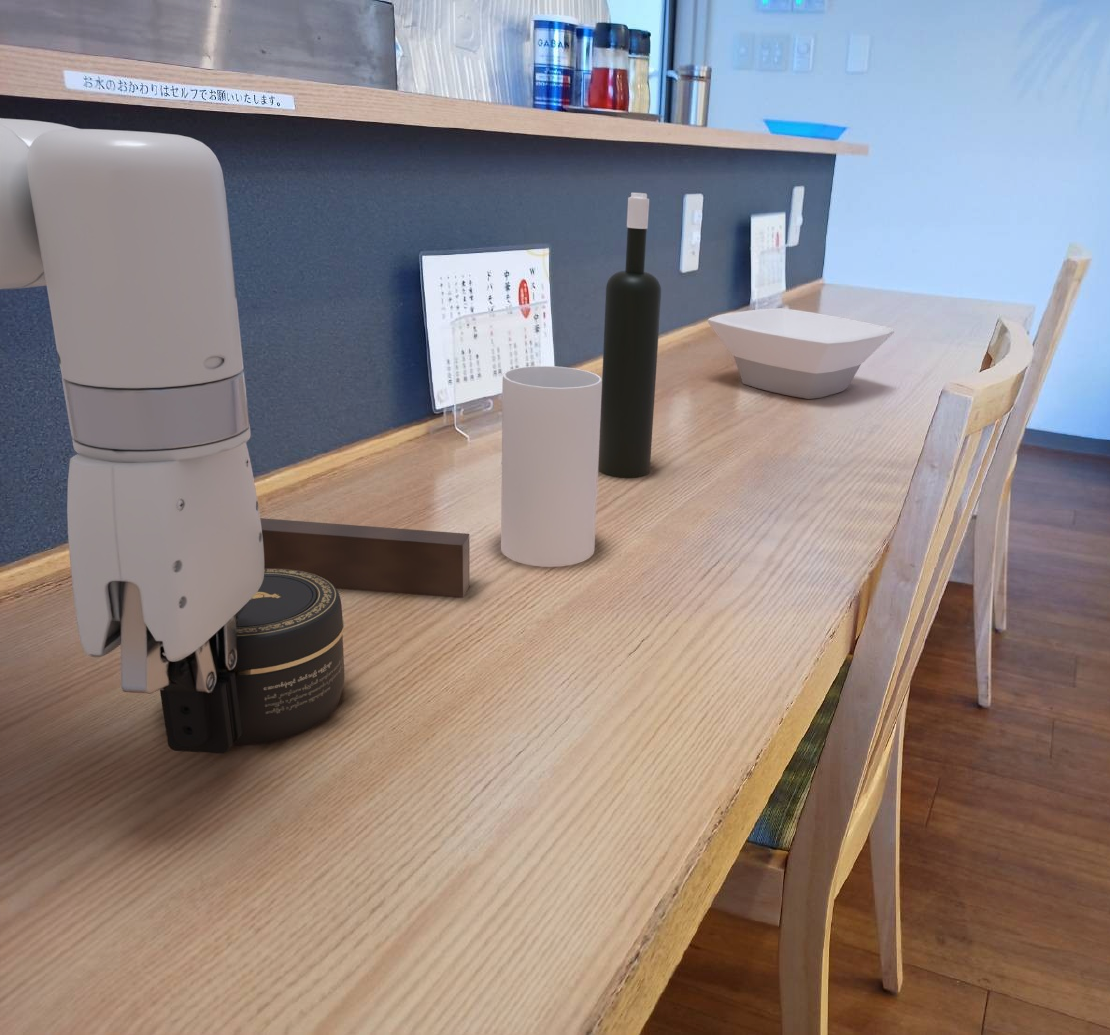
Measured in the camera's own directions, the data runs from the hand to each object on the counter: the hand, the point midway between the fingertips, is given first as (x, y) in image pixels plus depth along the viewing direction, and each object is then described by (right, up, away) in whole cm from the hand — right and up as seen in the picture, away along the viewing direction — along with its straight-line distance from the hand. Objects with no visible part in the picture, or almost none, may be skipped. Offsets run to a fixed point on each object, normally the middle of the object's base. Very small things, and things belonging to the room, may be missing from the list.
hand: (206, 743), depth 53 cm
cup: (+13, +9, +35) cm, 38 cm away
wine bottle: (+19, +17, +57) cm, 63 cm away
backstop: (-1, +6, +25) cm, 26 cm away
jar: (-1, 0, +8) cm, 8 cm away
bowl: (+43, +33, +106) cm, 119 cm away
